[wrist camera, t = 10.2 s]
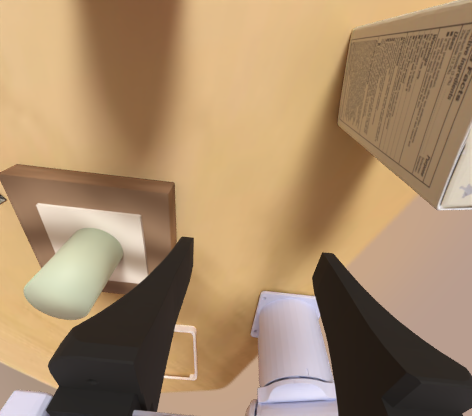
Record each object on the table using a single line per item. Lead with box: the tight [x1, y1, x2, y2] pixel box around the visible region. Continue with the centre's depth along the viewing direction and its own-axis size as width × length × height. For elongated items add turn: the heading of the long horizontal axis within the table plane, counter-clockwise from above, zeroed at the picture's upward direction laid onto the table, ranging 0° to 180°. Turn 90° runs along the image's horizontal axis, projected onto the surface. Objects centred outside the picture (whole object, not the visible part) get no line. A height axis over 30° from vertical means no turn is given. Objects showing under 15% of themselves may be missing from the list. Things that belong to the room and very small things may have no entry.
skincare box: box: [337, 0, 472, 210], centre depth 12 cm, size 6×4×12 cm
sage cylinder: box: [24, 228, 123, 320], centre depth 21 cm, size 5×5×6 cm
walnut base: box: [0, 164, 176, 294], centre depth 25 cm, size 14×14×2 cm
